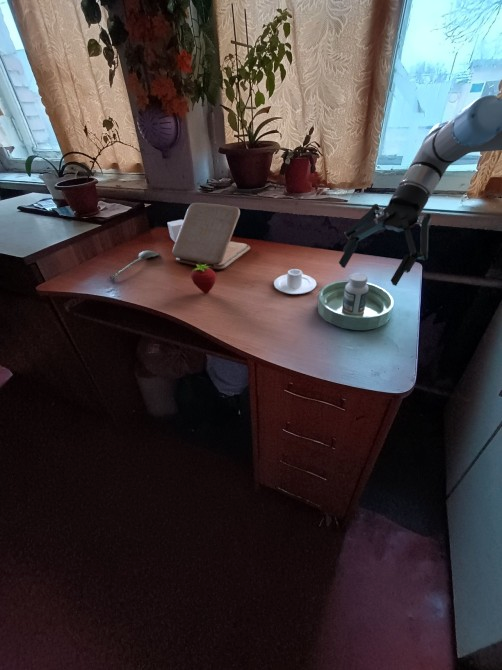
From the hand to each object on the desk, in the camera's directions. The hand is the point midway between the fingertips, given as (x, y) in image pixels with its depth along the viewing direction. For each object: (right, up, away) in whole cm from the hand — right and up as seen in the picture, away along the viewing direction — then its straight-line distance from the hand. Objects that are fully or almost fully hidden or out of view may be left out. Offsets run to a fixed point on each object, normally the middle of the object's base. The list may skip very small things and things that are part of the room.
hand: (365, 273), depth 73 cm
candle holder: (-15, 0, +16) cm, 21 cm away
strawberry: (-40, -3, +14) cm, 43 cm away
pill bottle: (-2, -8, +3) cm, 9 cm away
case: (-40, +13, +35) cm, 55 cm away
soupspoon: (-66, +8, +31) cm, 74 cm away
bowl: (-2, -9, +4) cm, 9 cm away
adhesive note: (-56, +24, +51) cm, 79 cm away
